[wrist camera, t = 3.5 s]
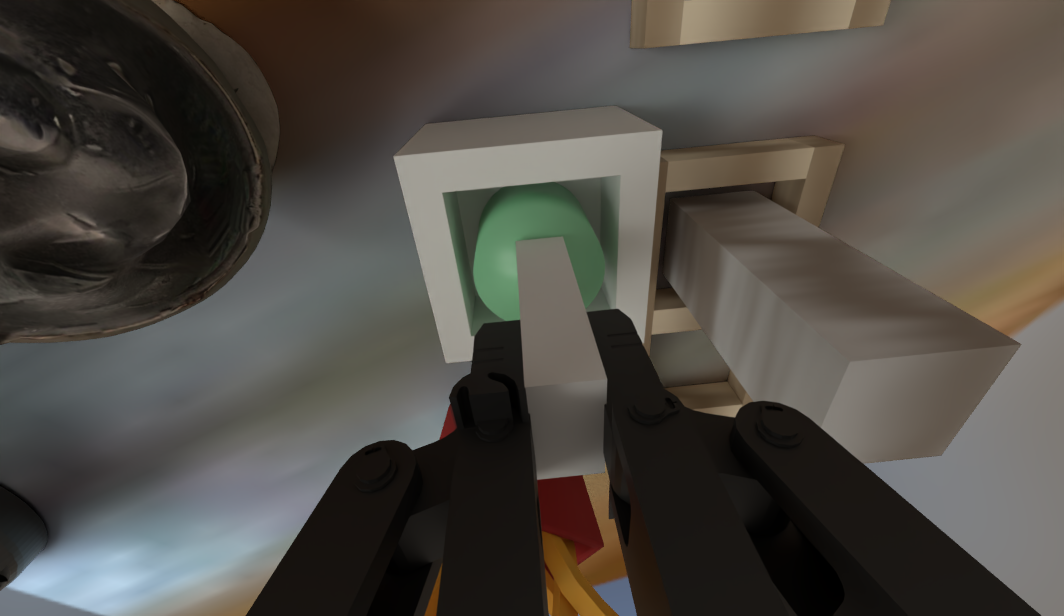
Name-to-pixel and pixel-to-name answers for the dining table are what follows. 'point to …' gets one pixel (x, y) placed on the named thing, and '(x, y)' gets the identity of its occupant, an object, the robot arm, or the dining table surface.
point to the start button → (532, 218)
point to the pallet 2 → (810, 306)
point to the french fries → (559, 544)
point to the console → (517, 159)
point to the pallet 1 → (745, 19)
